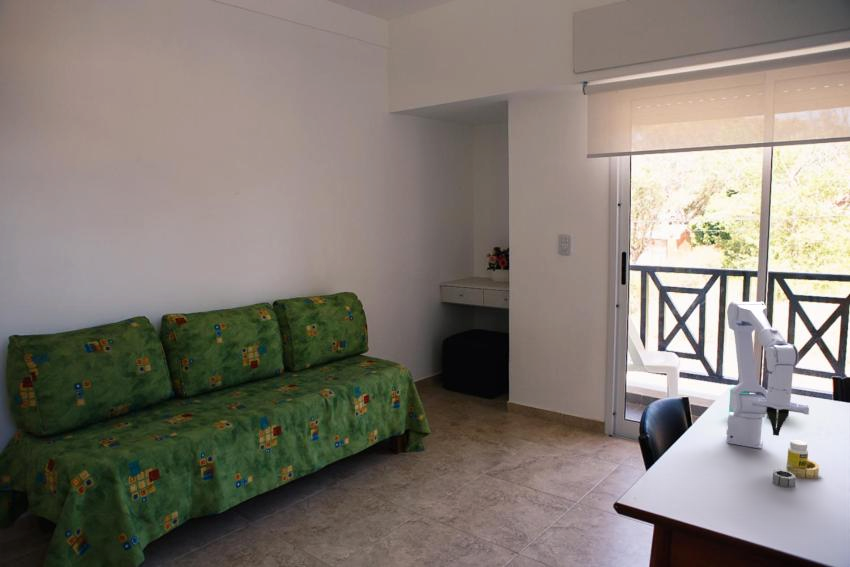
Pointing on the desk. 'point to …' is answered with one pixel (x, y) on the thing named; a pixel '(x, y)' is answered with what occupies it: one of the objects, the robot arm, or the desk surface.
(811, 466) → the wide wooden arch
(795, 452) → the supplement bottle
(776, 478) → the small steel collar
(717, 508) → the desk surface
